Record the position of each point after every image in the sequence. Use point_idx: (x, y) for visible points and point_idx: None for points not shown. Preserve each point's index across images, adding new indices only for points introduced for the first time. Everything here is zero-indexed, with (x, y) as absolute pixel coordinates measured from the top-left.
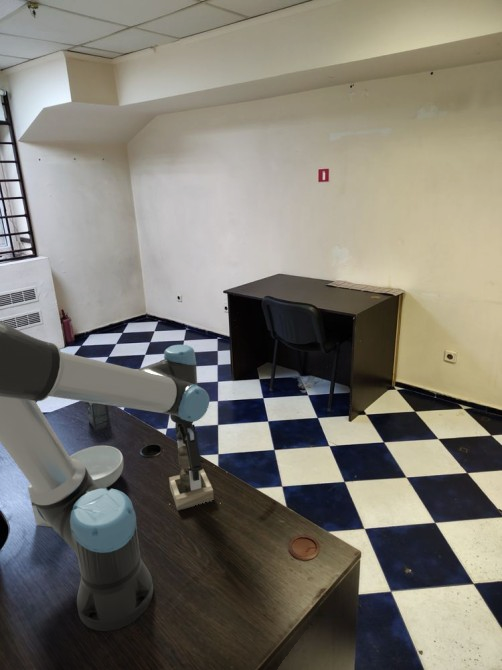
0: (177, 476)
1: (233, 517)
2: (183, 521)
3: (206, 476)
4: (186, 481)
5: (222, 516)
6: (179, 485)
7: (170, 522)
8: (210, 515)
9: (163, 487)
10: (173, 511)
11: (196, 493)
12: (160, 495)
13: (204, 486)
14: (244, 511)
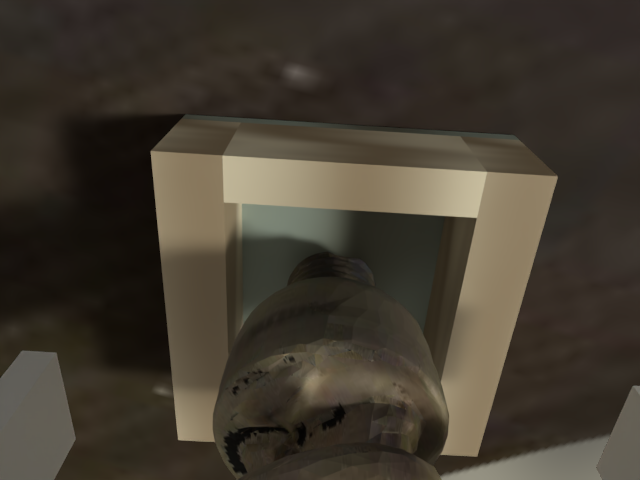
0: (514, 257)
1: None
2: (38, 122)
3: None
4: (236, 345)
5: None
6: (451, 222)
7: (50, 13)
8: (59, 308)
9: (558, 80)
10: (186, 78)
11: (176, 331)
12: (461, 21)
13: None
14: None
